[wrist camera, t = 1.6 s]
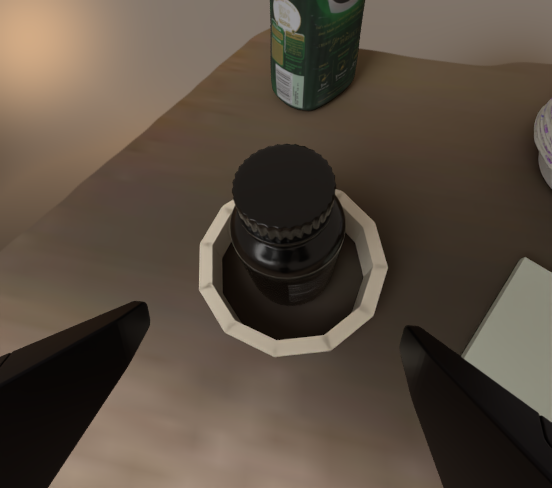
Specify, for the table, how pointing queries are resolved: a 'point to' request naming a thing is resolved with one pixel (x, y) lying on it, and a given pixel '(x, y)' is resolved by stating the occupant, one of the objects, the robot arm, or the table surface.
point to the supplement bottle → (287, 222)
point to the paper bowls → (544, 141)
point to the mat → (519, 337)
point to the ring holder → (363, 310)
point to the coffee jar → (313, 49)
